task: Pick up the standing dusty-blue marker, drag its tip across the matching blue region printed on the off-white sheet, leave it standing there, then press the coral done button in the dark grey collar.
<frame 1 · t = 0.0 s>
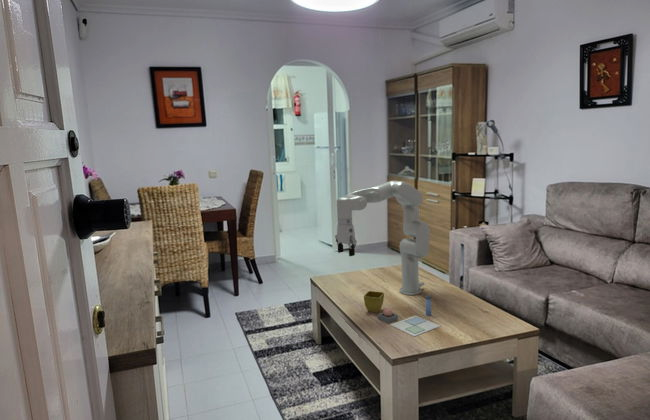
hand: (346, 254, 226), 31 cm above the table, fingers open, 9 cm apart
flower pot: (374, 310, 231), on the table
done button: (388, 312, 218), point 4 cm above the table, slide at 0.0 cm
sheet: (415, 325, 210), on the table
marker: (428, 314, 222), on the table
button collar: (388, 319, 219), on the table
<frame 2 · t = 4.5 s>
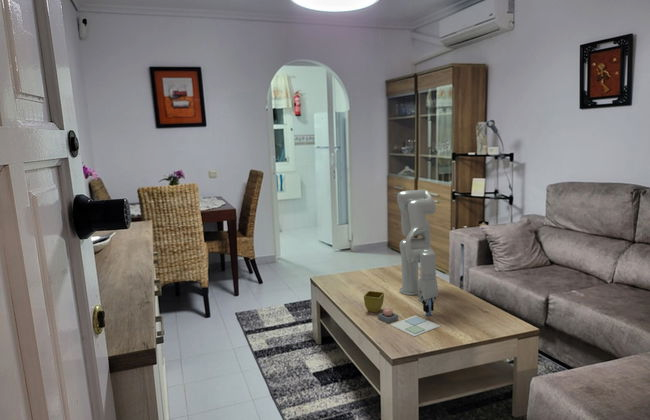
hand: (428, 310, 221), 2 cm above the table, fingers closed on marker, 2 cm apart
marker: (428, 314, 222), on the table, touching gripper
everything else where it was.
when the fingers open (3 cm above the table, at t = 8.7 s): marker stays where it is, resting on sheet.
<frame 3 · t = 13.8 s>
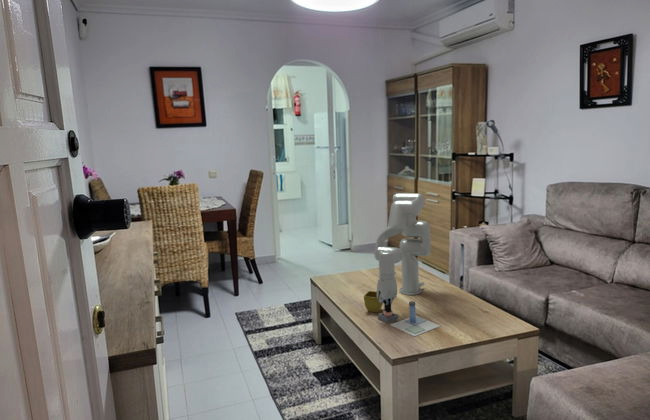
hand: (387, 311, 218), 4 cm above the table, fingers closed
done button: (388, 313, 218), point 3 cm above the table, slide at 0.8 cm, touching gripper
marker: (412, 321, 213), point 1 cm above the table, touching sheet
everything else where it was.
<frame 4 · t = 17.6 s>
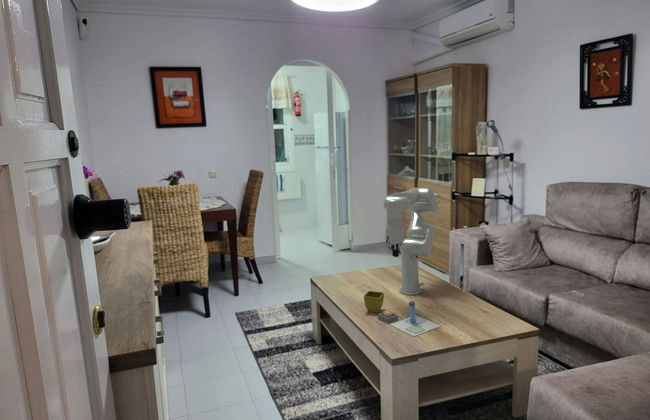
hand: (395, 256, 232), 27 cm above the table, fingers closed
done button: (388, 314, 218), point 3 cm above the table, slide at 1.1 cm
everything else where it was.
at the end: marker inside the target area on the sheet (2.0 cm from its centre), point 0.6 cm above the sheet's base; done button slide at 1.1 cm; the gripper is holding nothing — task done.
